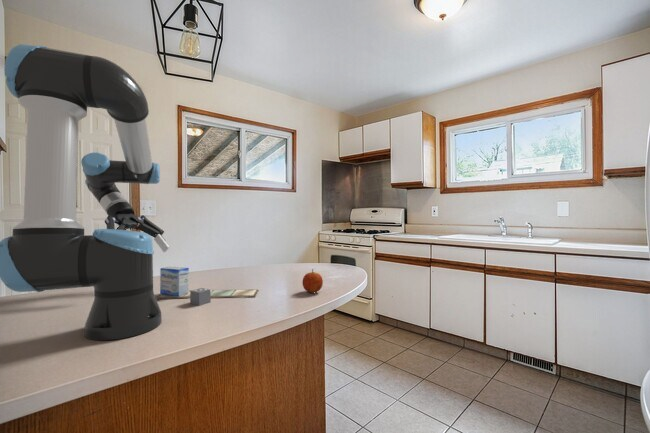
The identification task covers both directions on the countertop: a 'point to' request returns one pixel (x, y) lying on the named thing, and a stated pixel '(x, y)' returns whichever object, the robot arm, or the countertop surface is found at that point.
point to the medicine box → (174, 281)
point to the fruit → (312, 282)
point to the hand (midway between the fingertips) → (150, 252)
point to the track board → (217, 294)
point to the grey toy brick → (200, 296)
